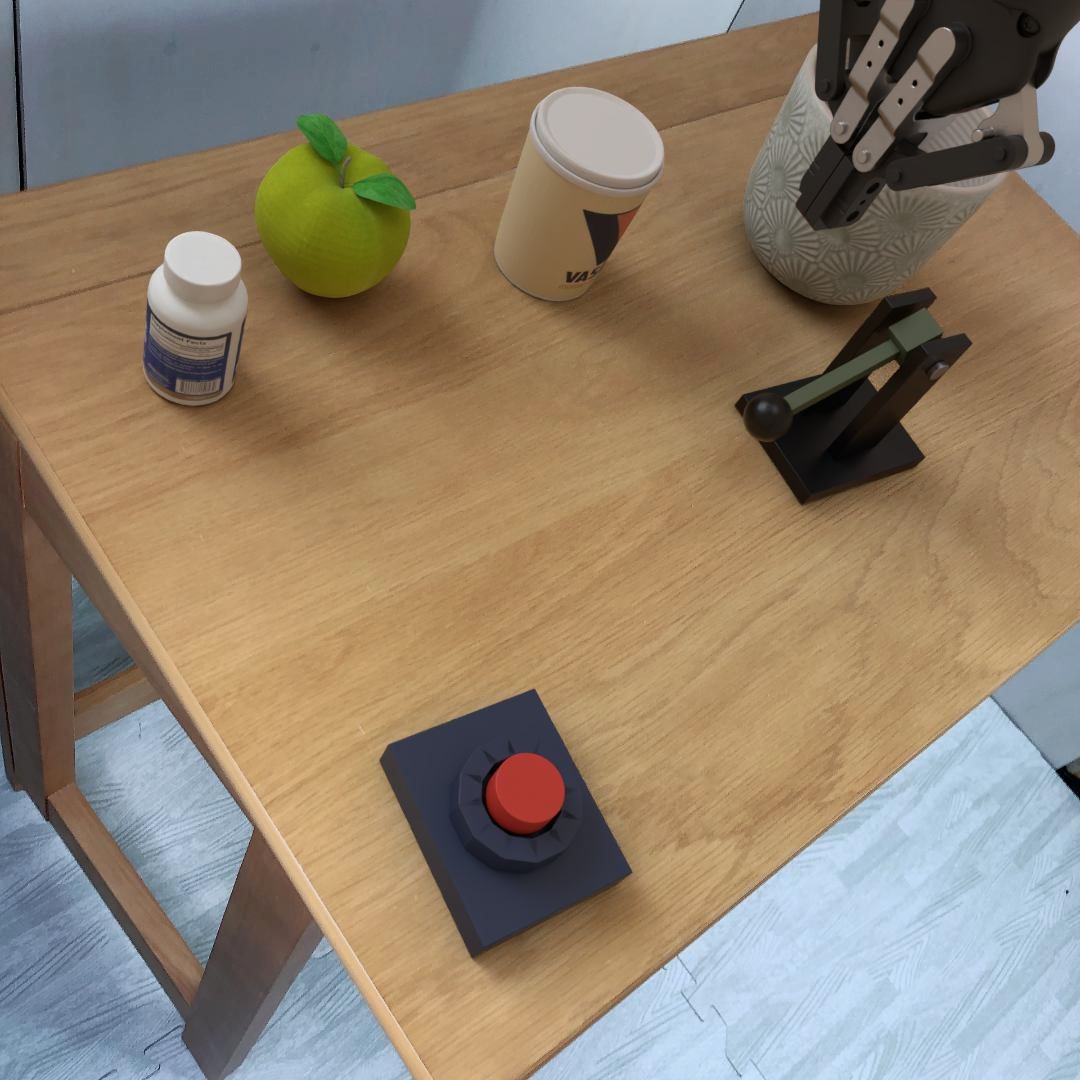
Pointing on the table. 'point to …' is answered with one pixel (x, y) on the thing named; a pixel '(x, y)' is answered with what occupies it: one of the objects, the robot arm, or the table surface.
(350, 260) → the fruit
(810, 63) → the planter
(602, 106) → the coffee cup
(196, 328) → the pill bottle
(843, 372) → the lever
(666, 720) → the table surface
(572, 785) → the button block
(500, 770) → the button
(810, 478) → the bracket
